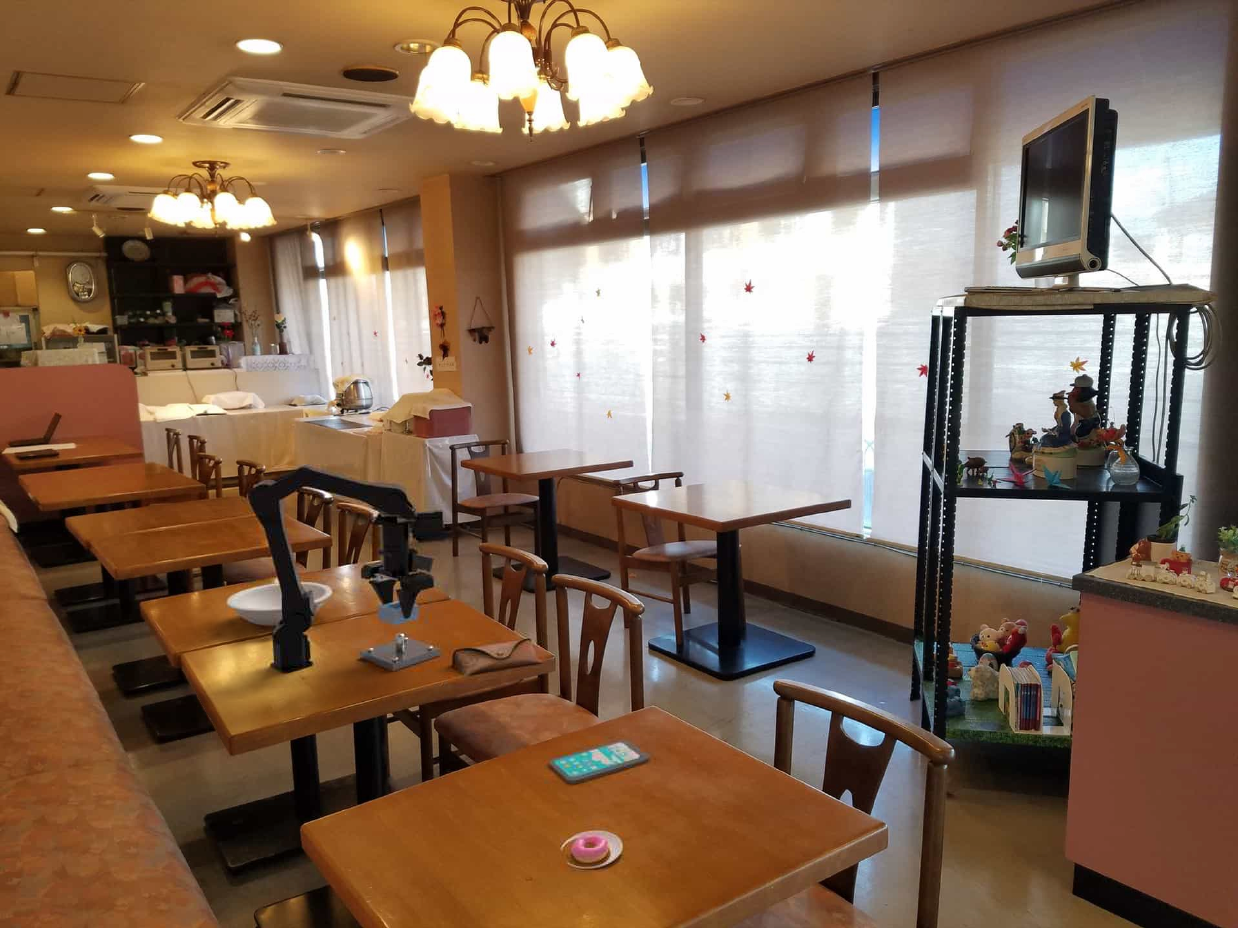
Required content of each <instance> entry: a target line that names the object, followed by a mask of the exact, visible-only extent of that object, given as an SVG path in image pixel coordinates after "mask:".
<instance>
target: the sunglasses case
mask: <svg viewBox="0 0 1238 928" xmlns="http://www.w3.org/2000/svg"><path fill="white" fill-rule="evenodd" d="M451 659H452V660H451V662H452V666H453V667H454V668H455V669H456V670H458V671H459V673H460V674H462V675H463V676H464V677H470V676H474V675H479V674H483V673H488V672H494V671H500V670H501V671H502V670H506V669H512V668H517V667H522V666H523V667H524V666H531V665H540V664H543V661H542V660H541V659H540V658H539V655H538V653H537V651H536V649H535V647H534V646H533V643H532V639H531V638H522V639H519V640H514V641H508V642H507V641H506V642H498V643H493V644H486V645H482V646H474V647H462V648H457V649H455V650H454V651H453V653H452V656H451Z"/></svg>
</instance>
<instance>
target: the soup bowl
mask: <svg viewBox="0 0 1238 928" xmlns="http://www.w3.org/2000/svg"><path fill="white" fill-rule="evenodd" d="M300 582H301V585H302V586H303V588H304V589H305V591H306V592H307V591H310V590H313V599H314V602H315V604H316V605H317V609H316V612H318V610H320V609H321V607H322V606H323V604H324V603H325V601H326V600H327V599H328V598H329V597H331V596H332V594H333V590H332V588H330V587H329V586H328V585H325V584H322V583H316V582H306V581H305V582H303V581H300ZM225 603H226V605H227V607H228V608H230V609H232V610H235V612H236V613H237V614H238V615H239V616H240V617H241V618H243V619H244V620H246V621H247V622H249V623H252V624H255V625H260V626H266V627H267V626H269V627H270V626H275V627H276V626H277V624H278V622H279V621H280V620H281V619H282V594H281V589H280V585H279V582H278V583H269V584H265V585H259V586H254V587H251V588H246V589H243V590H241V591H238V592H236V593H234V594H232V595H230V596H229V597H228V598H227V599H226V602H225Z"/></svg>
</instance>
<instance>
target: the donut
mask: <svg viewBox="0 0 1238 928" xmlns="http://www.w3.org/2000/svg"><path fill="white" fill-rule="evenodd" d="M573 840H575V841H574V842H573V844H572V845H571V850H570V852H571V853H572V855H573V858H574V859H575V860H576V861H578V862H580V863H586V864H590V863H597V862H599V861H602V860H603V859H604V858H605V857H606V856H607V854H608V852H609V851H610V856H609V858H608V859H607V860H606V861H605V862H603V863H601V864H599V865H594V866H577V865H574V864H572V863H569V862H567V864H568V865H570V866H572V867H574V868H579V869H596V868H601V867H605V866H606V865H608V864H610V863H612V862H613V861H615V860H616V859H617V858H618V857H619V856H620V855H621V853H622V851H623V842H622V840H621V838H620V837H618V836H617V835H616V834H614V833H612V832H609V831H606V830H588V831H583V832H581V833H578V834H575V835H573V836H572V837H570V838H569V839H567V840H566V841H565V842H564V843H563V845H562V846H561V849H560V851H561V850H562V849H563V848H564V846H565V845H566V844H568V843H570V842H571V841H573Z"/></svg>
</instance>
